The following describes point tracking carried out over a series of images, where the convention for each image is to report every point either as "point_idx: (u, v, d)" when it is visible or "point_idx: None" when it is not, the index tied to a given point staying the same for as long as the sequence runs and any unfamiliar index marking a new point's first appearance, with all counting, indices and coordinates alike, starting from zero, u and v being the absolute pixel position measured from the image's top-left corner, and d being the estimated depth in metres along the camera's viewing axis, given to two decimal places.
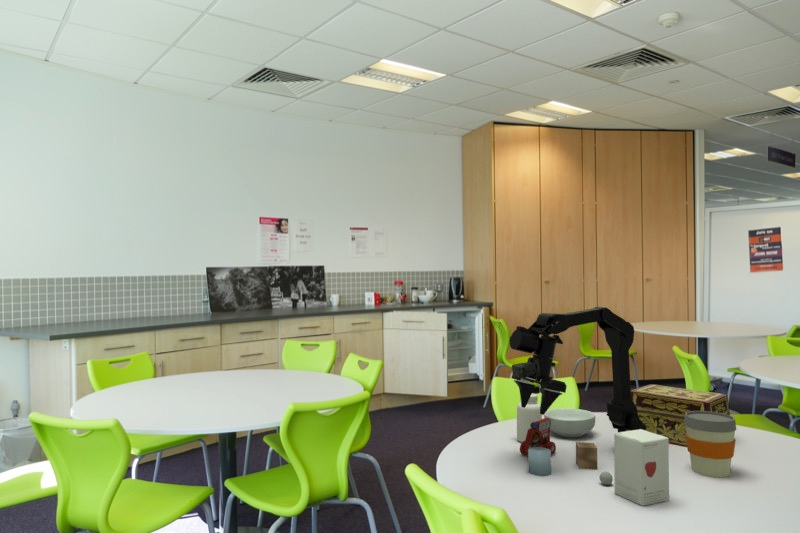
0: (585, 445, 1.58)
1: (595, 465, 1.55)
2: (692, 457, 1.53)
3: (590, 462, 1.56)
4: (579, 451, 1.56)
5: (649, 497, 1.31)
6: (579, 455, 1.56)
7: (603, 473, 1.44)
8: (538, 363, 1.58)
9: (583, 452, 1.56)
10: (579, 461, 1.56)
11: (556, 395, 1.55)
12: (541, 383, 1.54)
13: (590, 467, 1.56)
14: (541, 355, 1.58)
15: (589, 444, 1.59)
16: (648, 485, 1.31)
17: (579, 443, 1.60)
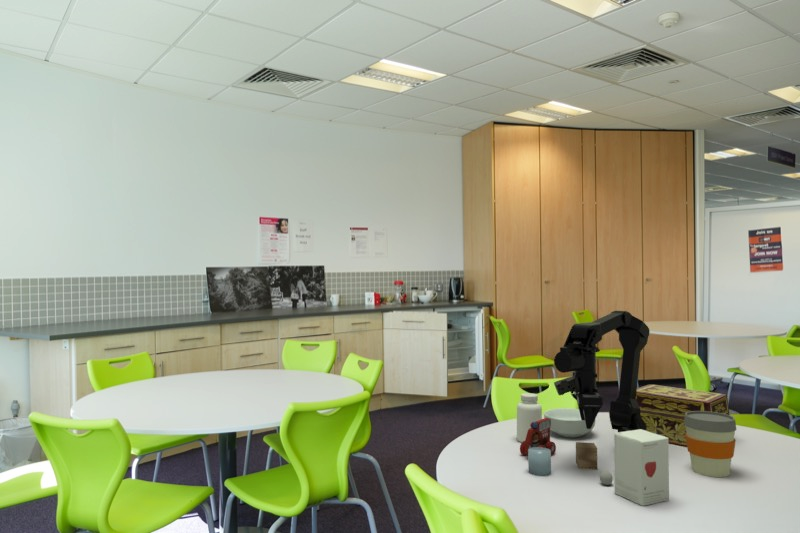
0: (585, 445, 1.58)
1: (595, 465, 1.55)
2: (692, 457, 1.53)
3: (590, 462, 1.56)
4: (579, 451, 1.56)
5: (649, 497, 1.31)
6: (579, 455, 1.56)
7: (603, 473, 1.44)
8: (576, 377, 1.57)
9: (583, 452, 1.56)
10: (579, 461, 1.56)
11: (597, 408, 1.52)
12: (577, 398, 1.53)
13: (590, 467, 1.56)
14: None
15: (589, 444, 1.59)
16: (648, 484, 1.31)
17: (579, 443, 1.60)
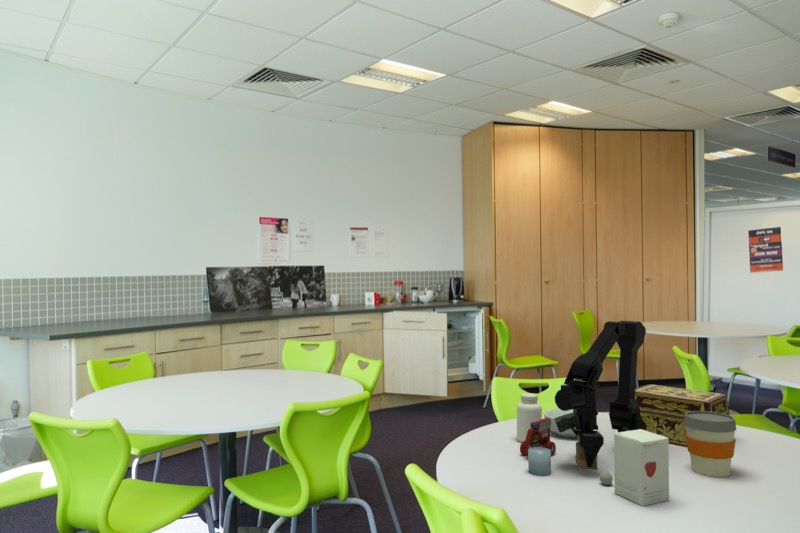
0: None
1: (595, 465, 1.55)
2: (692, 457, 1.53)
3: None
4: (579, 451, 1.56)
5: (649, 497, 1.31)
6: (579, 455, 1.56)
7: (603, 473, 1.44)
8: (577, 415, 1.57)
9: (583, 452, 1.56)
10: (579, 461, 1.56)
11: (598, 447, 1.52)
12: (578, 437, 1.53)
13: (590, 467, 1.56)
14: None
15: None
16: (648, 485, 1.31)
17: None
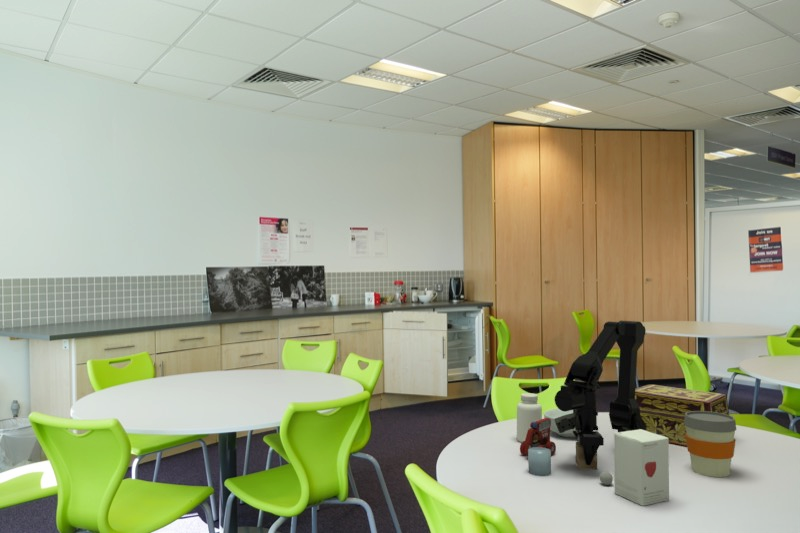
0: None
1: (595, 465, 1.55)
2: (692, 457, 1.53)
3: None
4: (579, 451, 1.56)
5: (649, 497, 1.31)
6: (579, 455, 1.56)
7: (603, 473, 1.44)
8: (576, 415, 1.57)
9: (583, 452, 1.56)
10: (579, 461, 1.56)
11: (596, 445, 1.53)
12: (578, 437, 1.53)
13: (590, 467, 1.56)
14: None
15: None
16: (648, 485, 1.31)
17: None
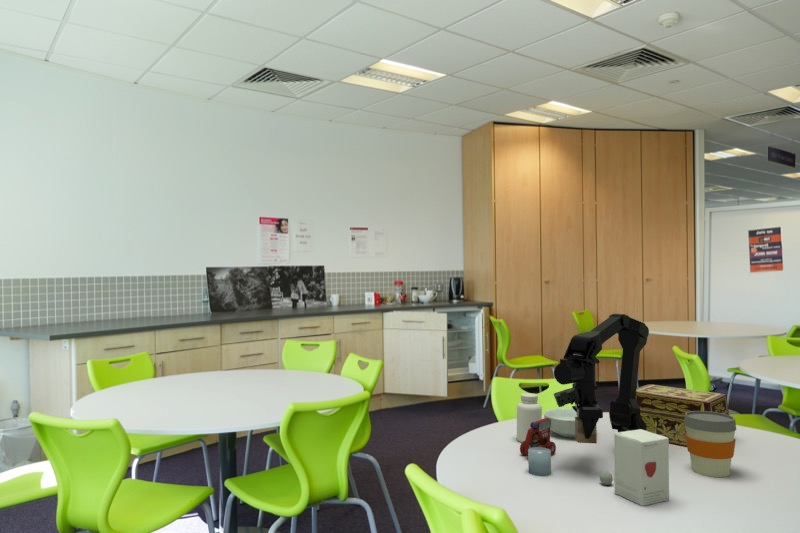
0: None
1: (594, 439, 1.56)
2: (692, 457, 1.53)
3: None
4: (578, 425, 1.56)
5: (649, 497, 1.31)
6: (578, 429, 1.56)
7: (603, 473, 1.44)
8: (576, 389, 1.57)
9: (582, 426, 1.56)
10: (578, 435, 1.56)
11: (596, 418, 1.53)
12: (577, 410, 1.53)
13: (589, 441, 1.56)
14: (578, 380, 1.57)
15: None
16: (648, 485, 1.31)
17: (578, 417, 1.60)
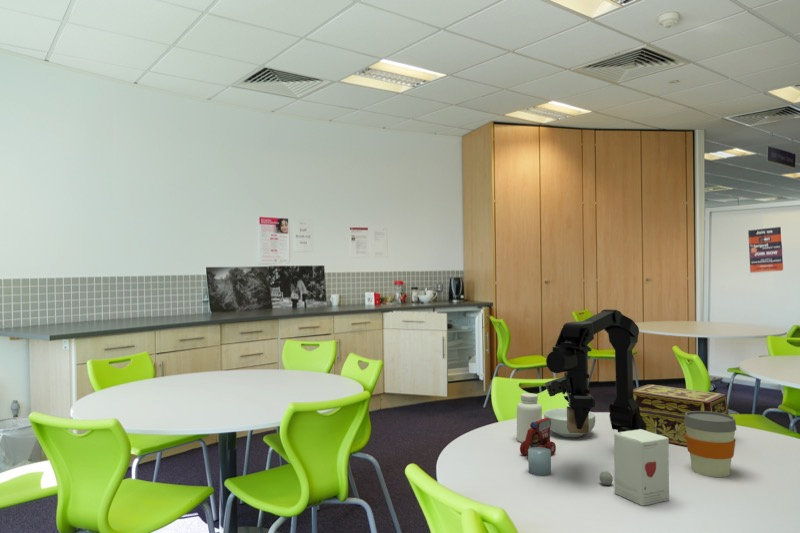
0: None
1: (586, 429, 1.51)
2: (692, 457, 1.53)
3: None
4: (570, 414, 1.51)
5: (649, 497, 1.31)
6: (570, 419, 1.51)
7: (603, 473, 1.44)
8: (567, 378, 1.52)
9: (574, 415, 1.51)
10: (570, 425, 1.51)
11: (588, 408, 1.49)
12: (568, 400, 1.48)
13: (581, 431, 1.51)
14: None
15: None
16: (648, 485, 1.31)
17: (570, 407, 1.55)
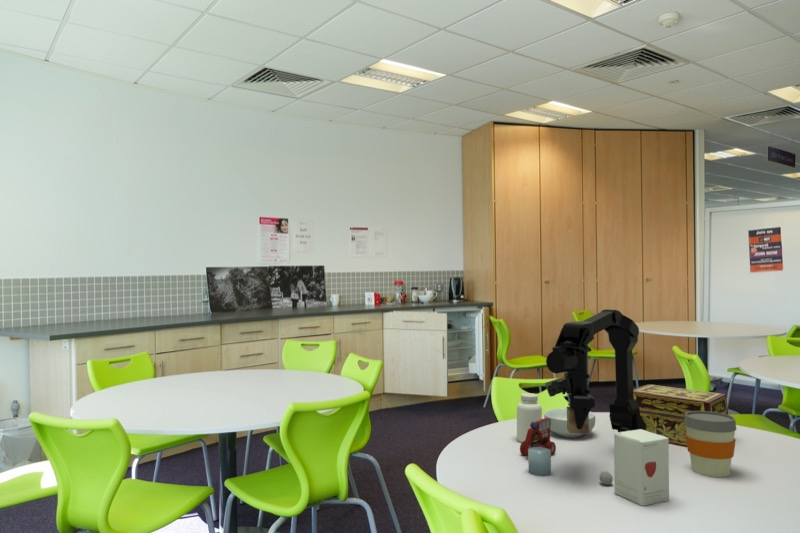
0: None
1: (586, 429, 1.51)
2: (692, 457, 1.53)
3: None
4: (570, 415, 1.51)
5: (649, 497, 1.31)
6: (570, 419, 1.51)
7: (603, 473, 1.44)
8: (567, 378, 1.52)
9: (574, 416, 1.51)
10: (570, 425, 1.51)
11: (588, 408, 1.49)
12: (568, 400, 1.48)
13: (581, 431, 1.51)
14: (570, 369, 1.52)
15: None
16: (648, 485, 1.31)
17: (570, 407, 1.55)
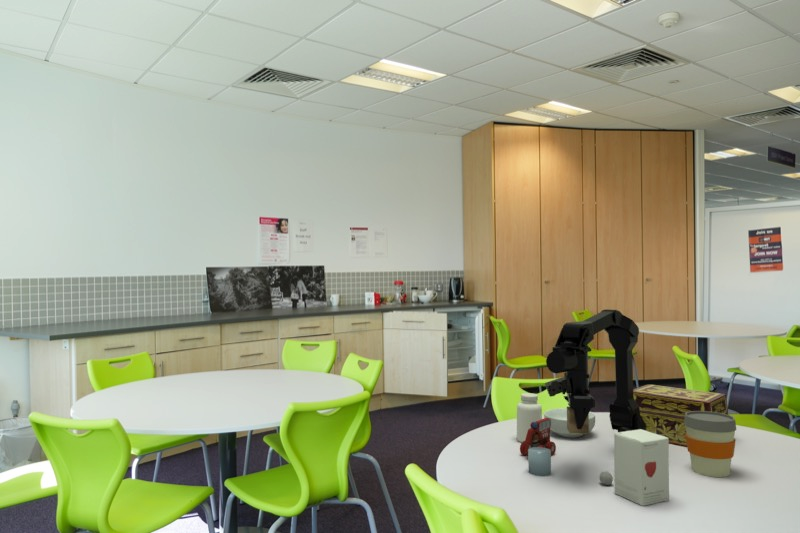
0: None
1: (586, 429, 1.51)
2: (692, 457, 1.53)
3: None
4: (570, 415, 1.51)
5: (649, 497, 1.31)
6: (570, 419, 1.51)
7: (603, 473, 1.44)
8: (567, 378, 1.52)
9: (574, 416, 1.51)
10: (570, 425, 1.51)
11: (588, 408, 1.49)
12: (568, 400, 1.48)
13: (581, 431, 1.51)
14: (570, 369, 1.52)
15: None
16: (648, 485, 1.31)
17: (570, 407, 1.55)
